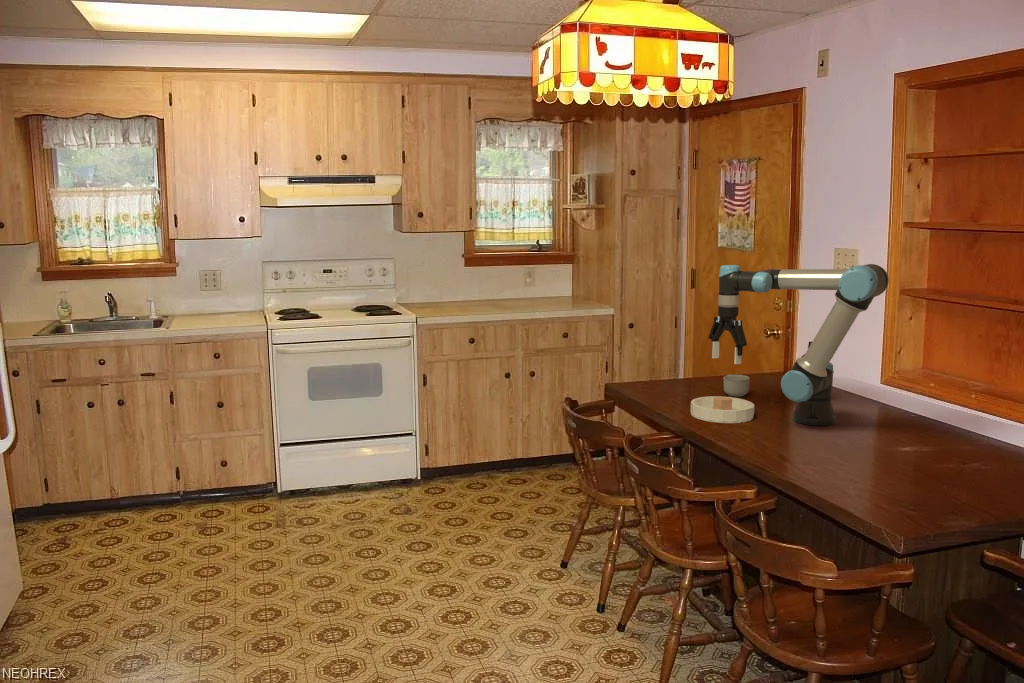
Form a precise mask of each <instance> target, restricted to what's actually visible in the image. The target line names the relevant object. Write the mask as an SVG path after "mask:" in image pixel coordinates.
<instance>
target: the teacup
mask: <svg viewBox="0 0 1024 683" xmlns="http://www.w3.org/2000/svg"><path fill="white" fill-rule="evenodd" d="M722 379H723V391H724V392H725V394H727V395H728V397H733V396H734V397H733V398H741V397H744V396H745V395H747V394H748V393H749V390H750V379H751V378H750V376H748V375H744V374H727V375H724V376H723V377H722Z"/></svg>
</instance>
